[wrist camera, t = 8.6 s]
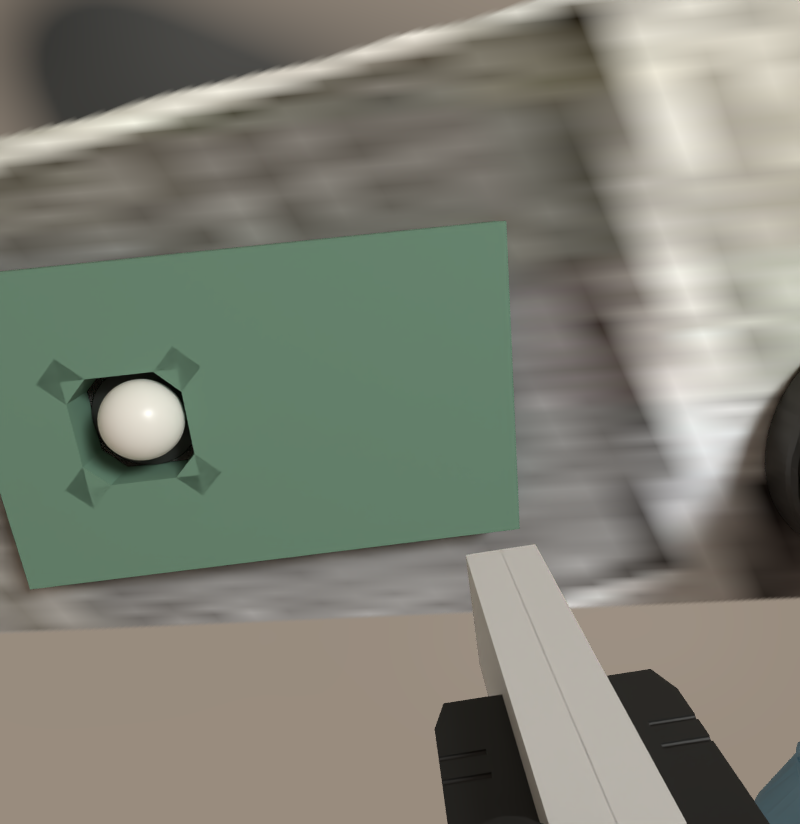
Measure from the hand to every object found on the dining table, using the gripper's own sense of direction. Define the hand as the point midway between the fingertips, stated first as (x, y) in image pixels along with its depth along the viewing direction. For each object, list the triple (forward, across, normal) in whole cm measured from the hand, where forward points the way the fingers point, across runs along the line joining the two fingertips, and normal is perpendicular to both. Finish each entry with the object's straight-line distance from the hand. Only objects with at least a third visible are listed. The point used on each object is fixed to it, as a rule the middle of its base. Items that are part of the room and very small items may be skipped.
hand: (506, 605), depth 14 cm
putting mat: (+21, +9, 0) cm, 23 cm away
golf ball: (+18, +14, -1) cm, 23 cm away
